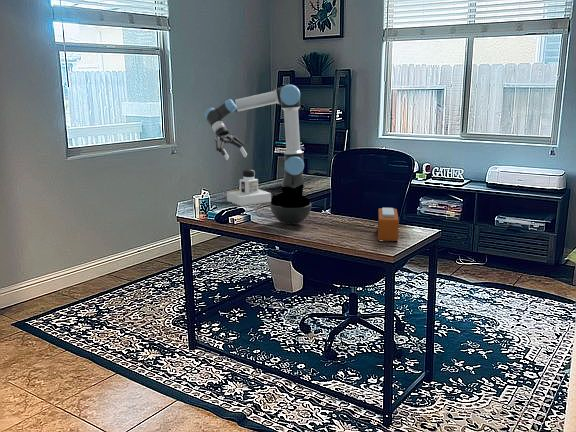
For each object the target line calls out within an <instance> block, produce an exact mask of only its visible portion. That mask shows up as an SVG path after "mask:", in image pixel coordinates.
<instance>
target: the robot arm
mask: <svg viewBox="0 0 576 432" xmlns="http://www.w3.org/2000/svg"><path fill="white" fill-rule="evenodd" d="M275 104H278V105H280V107H281V109H282V110H283V116H284V117H283V118H284V119H283V120H284V131H285V147H286V148H285V151H284V153H283V156H284V158H283V159H284V175H283V178H282V182H281V187H282V188H283V187H286V186H287V187H292V188H295V187H298V186H300V185H302V184H303V188H305V187H306V182H305V179H304V176H303V175H304V174H303V171H304V169H305V162H304V152H303V150H302V149H301V139H300V138H301V137H300V136H301V135H300V122H299V121H300V119H299V109H300V108H301V91H300V89H299V88H298V87H297V86H296V85H294V84H286V85H283V86H281V87H277V88H275V89H274V90H271V91H268V92H264V93H259V94H255V95H250V96H245V97H242V98H241V97H240V98H237V99H231V98H228V99H227V100H225V101H224V102H223V103H222V104H220V105H219V106H218V107H216V108H214V107H209V108H207V109H206V110H205V111H204V118H205V119H206V121H207V122H208V124H209V126H210V127H211V129H212V130H213V132H214V133H215V135H216V136H215V138H214V141H215V150H216V152H218V153H221V155H222V156H223V158H224V159H225V160H226V161H228V160H229V158H230V156H229V154H228V152H227V151H226V149H225V148H224V146H225V144H230V145H231V144H232V145H234V146H236V147H237V148H239V151H240V152H241V154H242V156H243V158H245V159H246V158H247V156H248V153H247V150H246V148H245V146H246V144H245V143H244V142H243V141H242V140H241V139H239V138H238V137H237V136H236V135H235V134H232V135H231V134H230V132H229V129H228V128H227V127H226V125H225V124H224V121H223V120H224V119H225V118H226V117H228V116H229V115H230V114H233V113H237V112H242V111H247V110H251V109H256V108H260V107H265V106H269V105H275Z"/></svg>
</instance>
